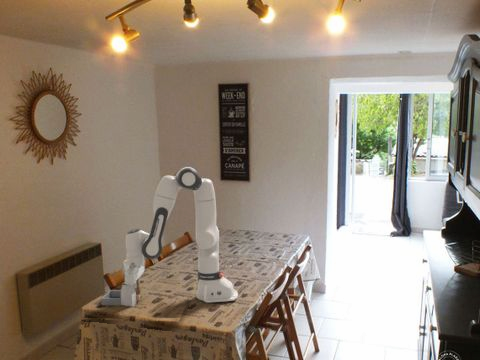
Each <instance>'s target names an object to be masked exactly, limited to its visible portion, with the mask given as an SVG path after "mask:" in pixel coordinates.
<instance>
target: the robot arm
mask: <svg viewBox="0 0 480 360" xmlns="http://www.w3.org/2000/svg"><path fill="white" fill-rule="evenodd" d="M181 189H187V190H190V191H193V195H194V196H193V197H194V205H195V206H194V209H195V210H194V211H195V242H196V245H197V247H198V254H197V258H198V259H197V265H198V266H197V267H198V270H197V282H198V283H197V291H196V296H195V298H197V299H198V300H200V301H202V302H204V303H219V302H220V303H222V302H232V301H236V300H237V299H238V297H239V293H238V291H237V290H236V289H234V285H233V283H232V282H231V281H230V280H229V279H227V278H226V277H224V272H223V270H221V269H220V262H219V261H220V260H219V259H220V257H219V255H220V230H219V228H218V226H217V215H218V214H217V213H218V212H217V204H216V203H217V201H216V192H215V187H214V184H213V181H212V180H211V179H209V178H205V177H204V178H201V176H200V175H199V173H198V172H197V170H196V169H195V168H193V167H190V166H184V167H182V168H180V169H179V170H178V171H177V172H175V174H174V175H164V176H162V177H161V179H160V181H159V182H158V185H157V188H156V189H155V193H154V197H153V205H152V209H153V211H152V212H153V219H152V225H151V228H150V231H149V232H146V231H143V230H142V229H140V228H135V229H131V230H130V231H128V232H127V233H126V235H125V250H126V254H125V255H126V259H125V260H127V265H128V266H129V268H128V269H127V284H132V286H134V288H137V284H136V280H137V279H140V280H141V276H142V275H143V274H144V273H145V268H146V259H147V260H155V259H157V258H159V257H160V256H162V253H163V245H162V238H163V236H164V235H163V234H164V231H165V227H166V224H167V221H168V219H169V216H170V215H171V212H172V210H173V209H174V206H175V204H176V201H177V197H178V193H179V192H180V190H181Z"/></svg>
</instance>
